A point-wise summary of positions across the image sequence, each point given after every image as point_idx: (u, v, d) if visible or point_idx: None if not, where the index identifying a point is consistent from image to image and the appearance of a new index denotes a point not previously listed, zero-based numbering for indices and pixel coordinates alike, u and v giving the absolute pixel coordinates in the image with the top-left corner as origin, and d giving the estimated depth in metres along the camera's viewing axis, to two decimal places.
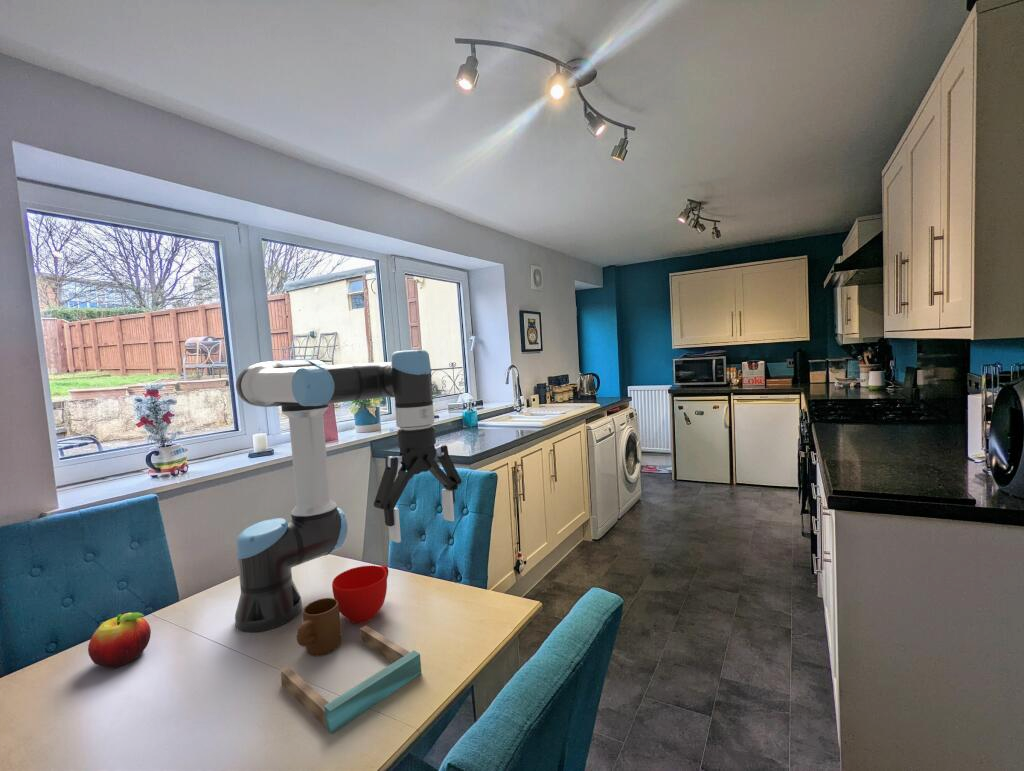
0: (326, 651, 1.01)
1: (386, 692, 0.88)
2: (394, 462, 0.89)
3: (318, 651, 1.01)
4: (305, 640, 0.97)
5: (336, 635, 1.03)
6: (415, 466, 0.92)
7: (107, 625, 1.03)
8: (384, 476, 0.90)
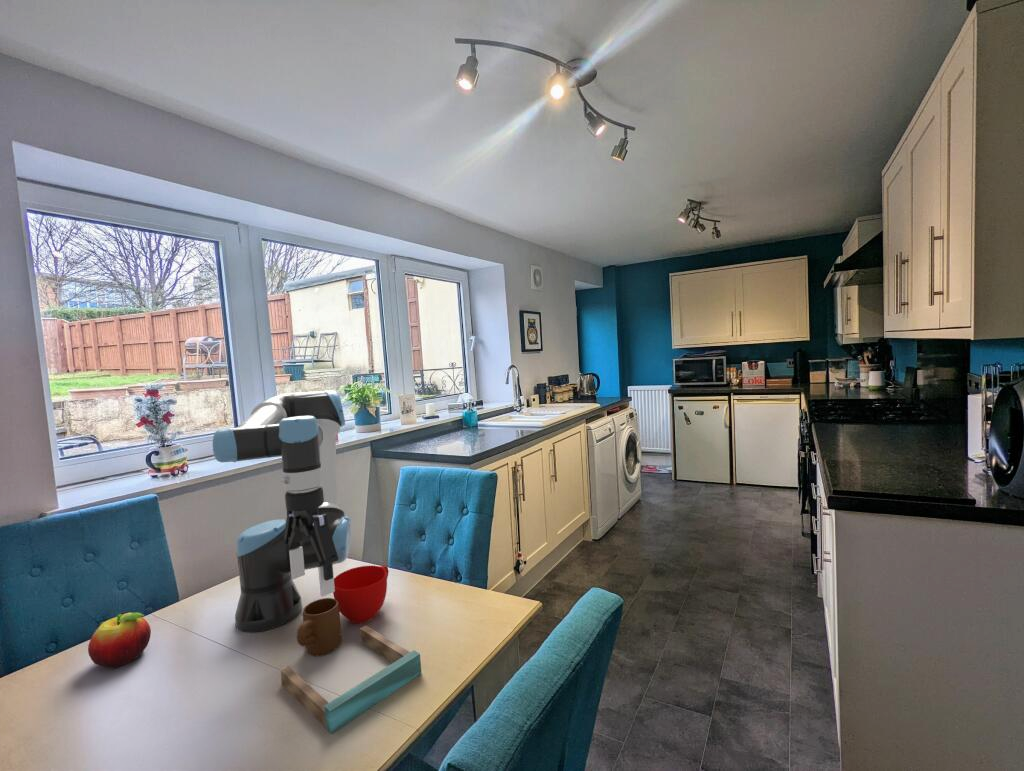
0: (326, 651, 1.01)
1: (386, 692, 0.88)
2: (287, 511, 1.04)
3: (318, 651, 1.01)
4: (305, 640, 0.97)
5: (336, 635, 1.03)
6: (294, 523, 1.01)
7: (107, 625, 1.03)
8: None
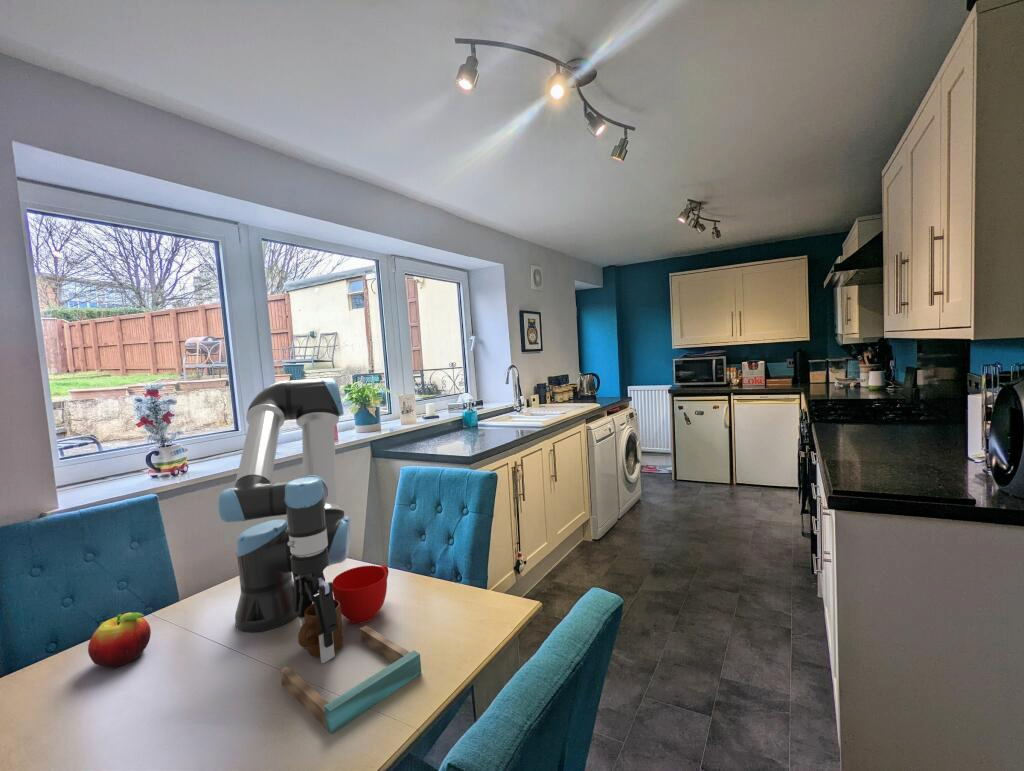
0: None
1: (386, 692, 0.88)
2: (293, 575, 1.05)
3: (319, 653, 1.00)
4: (306, 641, 0.97)
5: (338, 637, 1.02)
6: (300, 585, 1.02)
7: (107, 625, 1.03)
8: None
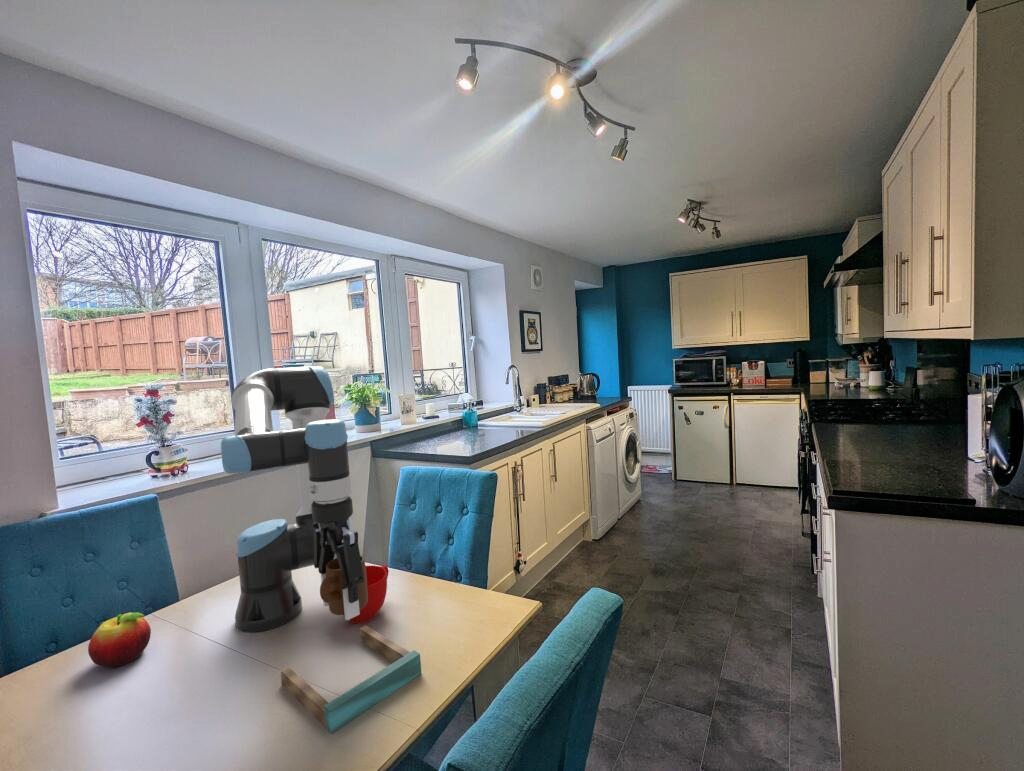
0: None
1: (386, 692, 0.88)
2: (313, 527, 0.96)
3: (343, 610, 0.92)
4: (329, 596, 0.88)
5: (362, 593, 0.94)
6: (322, 537, 0.93)
7: (107, 625, 1.03)
8: None
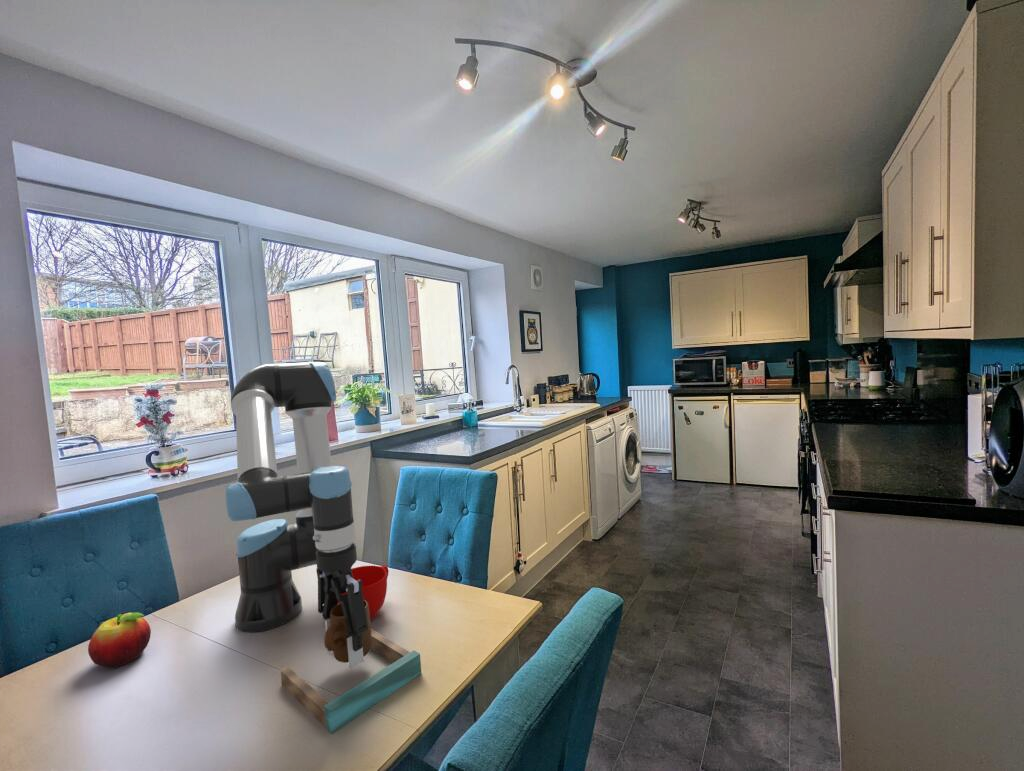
0: None
1: (386, 692, 0.88)
2: (317, 573, 0.97)
3: (347, 657, 0.92)
4: (333, 645, 0.88)
5: (366, 639, 0.94)
6: (326, 584, 0.93)
7: (107, 625, 1.03)
8: None
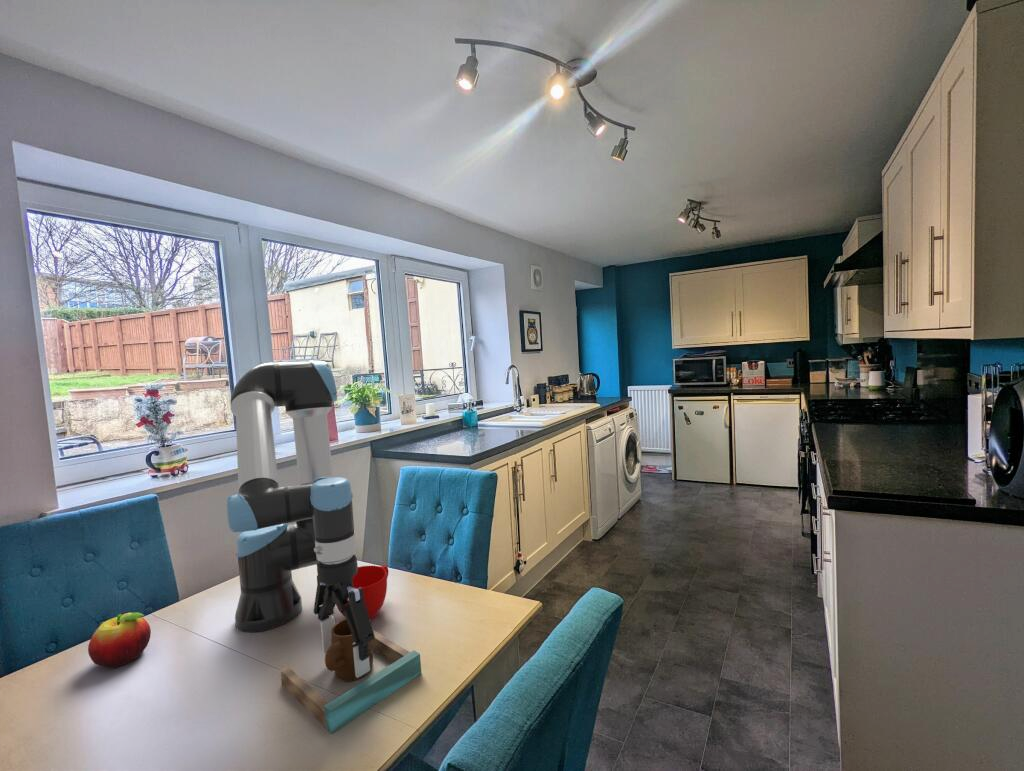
0: None
1: (386, 692, 0.88)
2: (317, 579, 0.97)
3: (348, 676, 0.92)
4: (334, 665, 0.89)
5: None
6: (326, 594, 0.94)
7: (107, 625, 1.03)
8: None
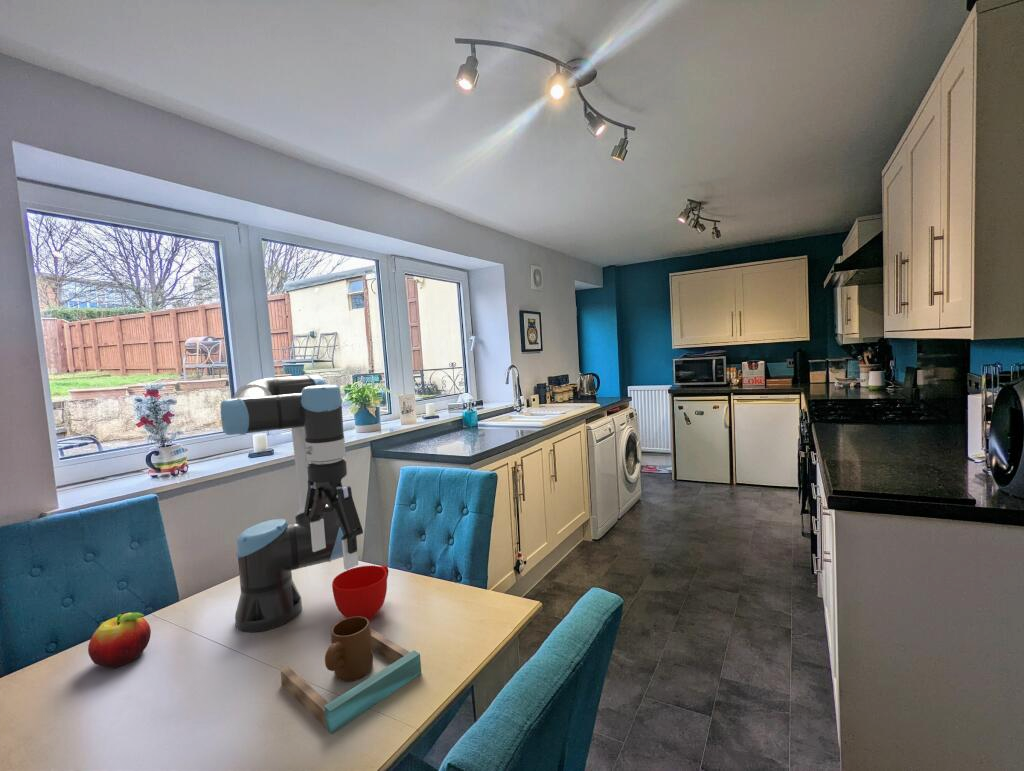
0: (356, 676, 0.93)
1: (386, 692, 0.88)
2: (308, 483, 1.01)
3: (348, 676, 0.92)
4: (334, 665, 0.89)
5: (367, 658, 0.94)
6: (316, 495, 0.98)
7: (107, 625, 1.03)
8: None
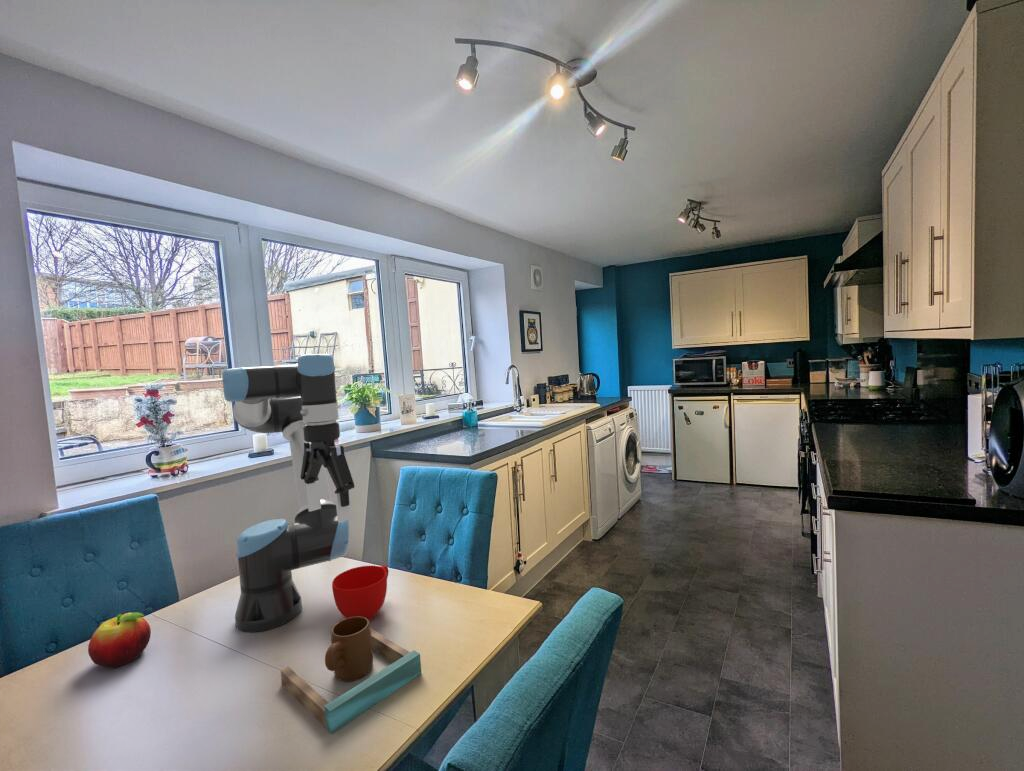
0: (356, 676, 0.93)
1: (386, 692, 0.88)
2: (304, 446, 1.09)
3: (348, 676, 0.92)
4: (334, 665, 0.89)
5: (367, 658, 0.94)
6: (312, 455, 1.06)
7: (107, 625, 1.03)
8: None
